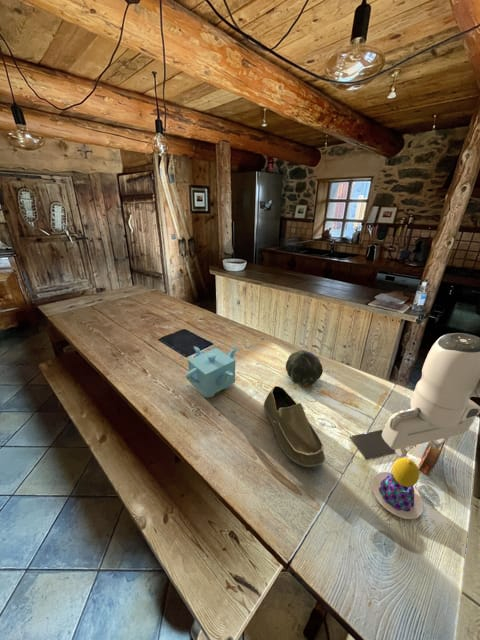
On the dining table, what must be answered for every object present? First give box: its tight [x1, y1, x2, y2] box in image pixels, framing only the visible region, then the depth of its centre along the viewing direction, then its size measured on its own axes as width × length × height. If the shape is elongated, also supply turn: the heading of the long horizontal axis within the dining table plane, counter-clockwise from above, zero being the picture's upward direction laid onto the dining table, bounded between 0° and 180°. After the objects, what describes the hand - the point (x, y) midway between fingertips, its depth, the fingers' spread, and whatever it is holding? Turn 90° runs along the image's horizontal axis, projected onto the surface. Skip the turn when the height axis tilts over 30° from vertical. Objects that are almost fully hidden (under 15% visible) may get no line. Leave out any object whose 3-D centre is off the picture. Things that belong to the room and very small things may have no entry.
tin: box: [417, 441, 446, 477], centre depth 77 cm, size 15×3×8 cm, turn 135°
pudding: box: [371, 471, 424, 520], centre depth 69 cm, size 12×12×5 cm
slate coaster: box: [349, 429, 396, 460], centre depth 84 cm, size 12×8×1 cm, turn 103°
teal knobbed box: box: [185, 345, 239, 398], centre depth 105 cm, size 19×19×15 cm
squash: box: [285, 349, 324, 386], centre depth 110 cm, size 14×15×15 cm
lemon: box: [391, 457, 420, 487], centre depth 66 cm, size 6×6×8 cm
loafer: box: [263, 385, 326, 468], centre depth 85 cm, size 11×30×10 cm, turn 23°
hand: (417, 450), depth 62 cm, fingers open, 8 cm apart
